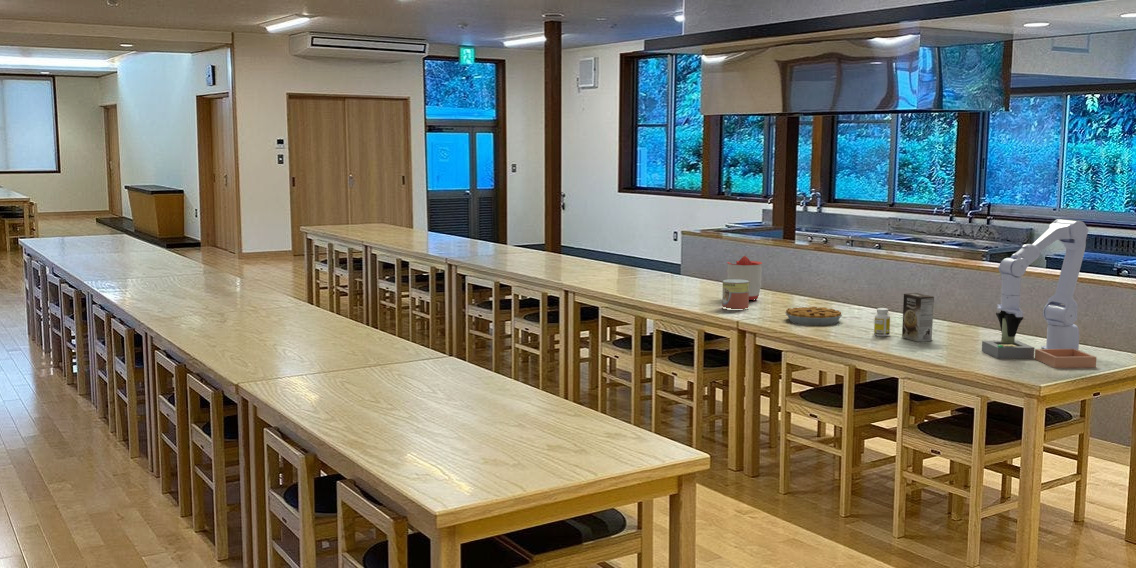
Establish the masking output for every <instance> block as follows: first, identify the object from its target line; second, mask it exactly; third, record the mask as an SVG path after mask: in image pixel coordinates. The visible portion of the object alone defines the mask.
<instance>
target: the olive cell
mask: <svg viewBox="0 0 1136 568" xmlns="http://www.w3.org/2000/svg"><path fill="white" fill-rule="evenodd" d="M1015 338H1016V336H1015V337H1009V336H1008V334H1007V323H1006V320H1005V318H1003V320H1002V332H1001V340H1000V341H1001V342H1002V343H1008V344H1012V343H1014V341H1016V339H1015Z"/></svg>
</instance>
